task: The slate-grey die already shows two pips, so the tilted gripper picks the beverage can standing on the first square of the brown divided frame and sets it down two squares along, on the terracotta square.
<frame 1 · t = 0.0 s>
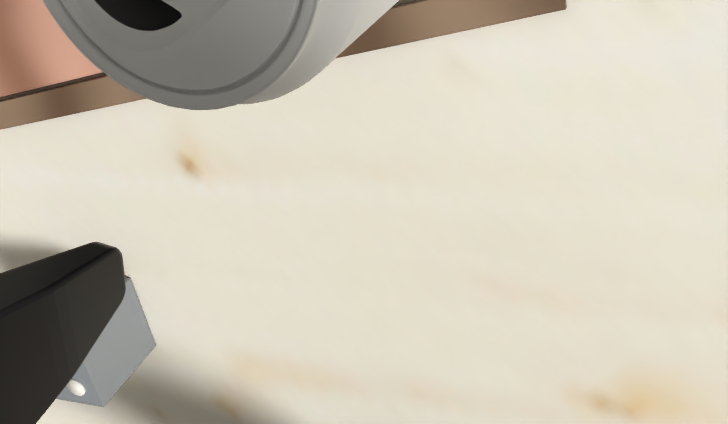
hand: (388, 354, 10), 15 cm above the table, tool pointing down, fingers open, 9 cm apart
die: (109, 308, 35), on the table
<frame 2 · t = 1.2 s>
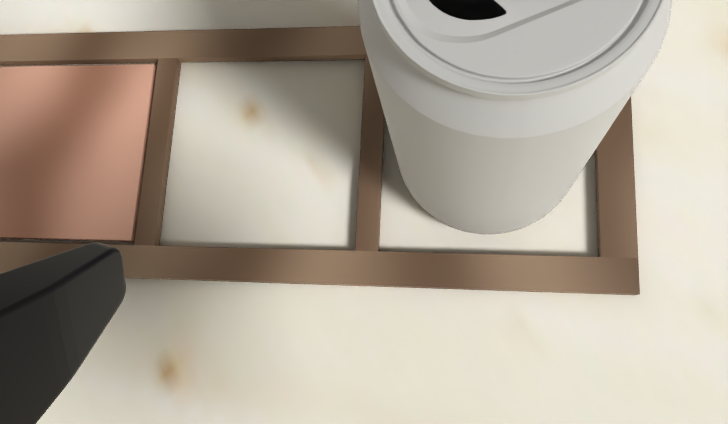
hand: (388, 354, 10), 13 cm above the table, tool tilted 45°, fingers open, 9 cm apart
brown divided frame: (264, 152, 25), on the table
beverage can: (486, 154, 24), on the table
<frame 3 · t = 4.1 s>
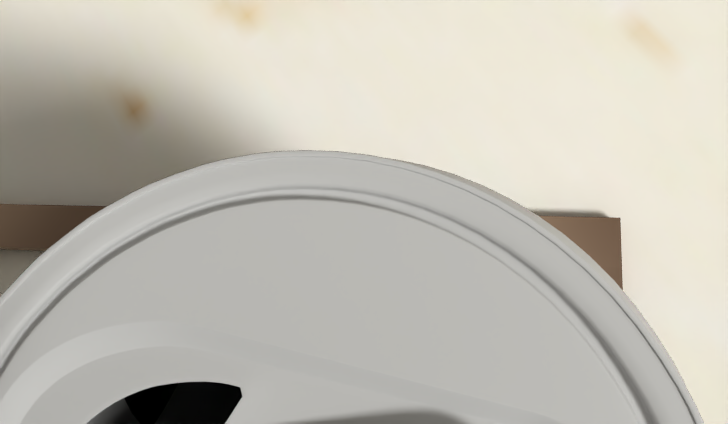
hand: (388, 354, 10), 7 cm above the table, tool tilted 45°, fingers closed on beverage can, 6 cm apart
brown divided frame: (82, 396, 17), on the table
beverage can: (405, 418, 16), on the table, touching gripper
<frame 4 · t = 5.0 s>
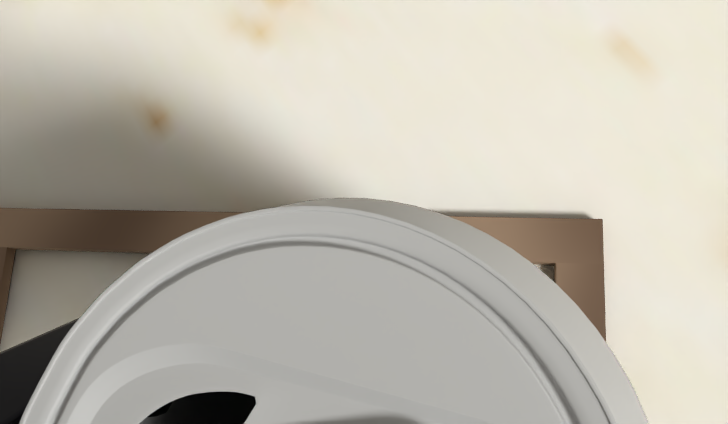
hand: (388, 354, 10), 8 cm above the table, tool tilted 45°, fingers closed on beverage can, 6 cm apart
brown divided frame: (115, 384, 19), on the table
beverage can: (450, 416, 17), on the table, touching gripper
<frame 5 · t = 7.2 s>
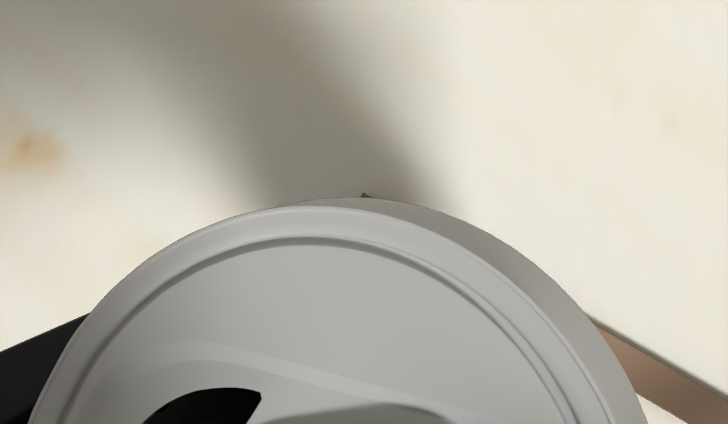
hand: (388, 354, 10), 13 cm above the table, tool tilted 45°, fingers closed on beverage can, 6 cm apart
beverage can: (451, 413, 17), point 5 cm above the table, touching gripper
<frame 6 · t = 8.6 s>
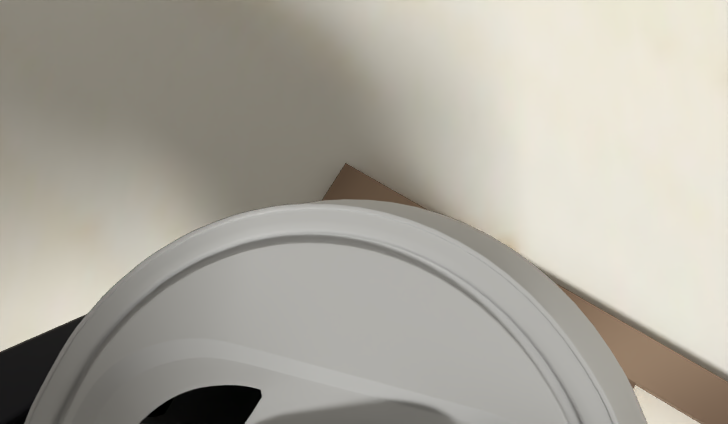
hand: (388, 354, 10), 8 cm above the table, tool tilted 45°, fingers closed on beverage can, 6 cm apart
when the fingers open (8 cm above the table, at t = 9.3 s): beverage can stays where it is, resting on brown divided frame.
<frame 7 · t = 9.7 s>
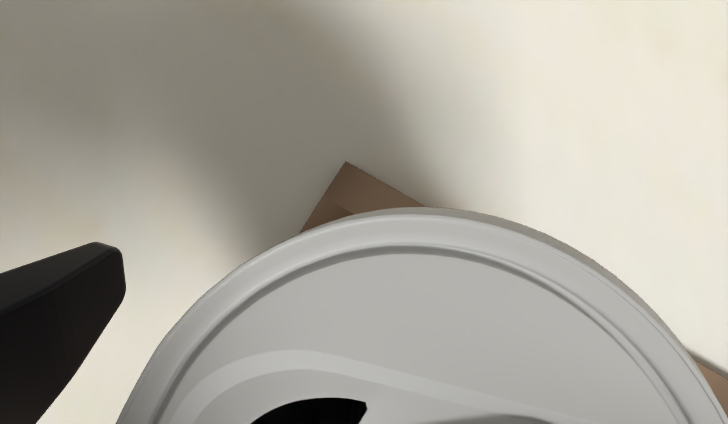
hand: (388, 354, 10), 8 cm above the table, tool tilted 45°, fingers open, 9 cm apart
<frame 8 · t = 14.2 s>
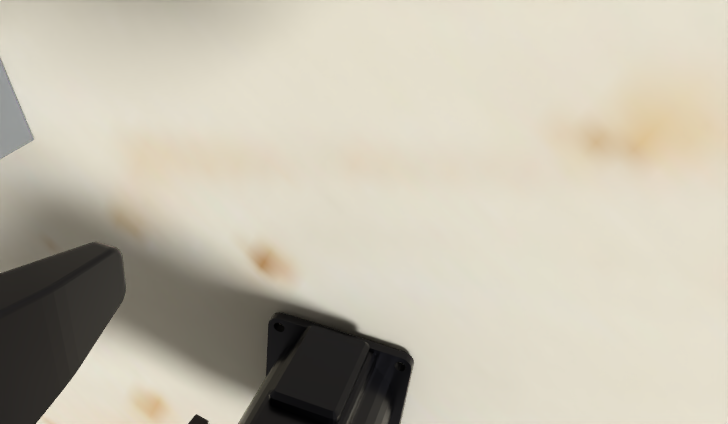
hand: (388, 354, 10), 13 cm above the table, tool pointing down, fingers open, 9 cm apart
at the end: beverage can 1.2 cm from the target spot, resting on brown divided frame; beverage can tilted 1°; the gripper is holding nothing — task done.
